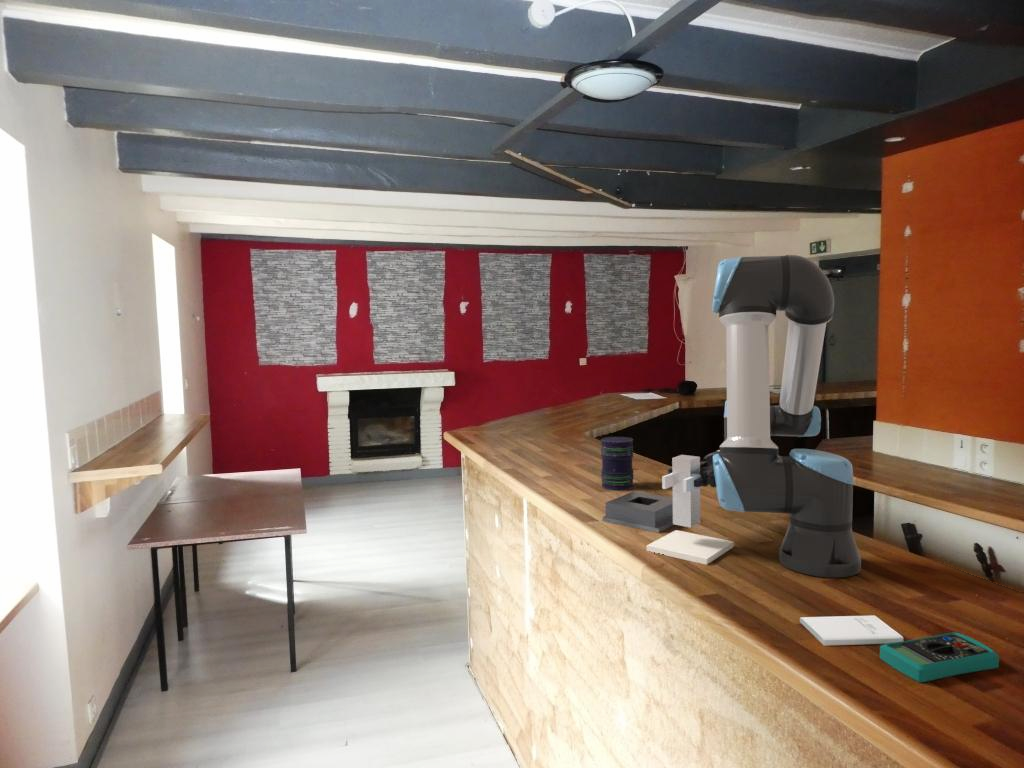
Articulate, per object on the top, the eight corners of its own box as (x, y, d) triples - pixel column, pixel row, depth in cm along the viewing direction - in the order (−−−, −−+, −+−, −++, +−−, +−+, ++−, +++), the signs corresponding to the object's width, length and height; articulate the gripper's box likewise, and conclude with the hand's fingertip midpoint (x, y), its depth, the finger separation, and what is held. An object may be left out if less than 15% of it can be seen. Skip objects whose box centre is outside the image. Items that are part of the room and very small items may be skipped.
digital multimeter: (1003, 670, 94) (1004, 650, 93) (919, 686, 90) (919, 666, 90) (956, 647, 101) (957, 628, 100) (876, 661, 97) (877, 641, 97)
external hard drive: (799, 625, 109) (873, 623, 109) (824, 649, 101) (903, 646, 101) (799, 616, 109) (873, 613, 109) (824, 639, 101) (903, 636, 101)
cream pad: (733, 546, 146) (733, 541, 146) (706, 564, 136) (706, 559, 136) (676, 534, 155) (676, 529, 155) (646, 550, 145) (646, 545, 145)
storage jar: (599, 490, 200) (599, 441, 198) (602, 482, 209) (602, 436, 208) (632, 491, 197) (632, 442, 196) (634, 483, 207) (634, 436, 205)
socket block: (695, 513, 172) (695, 495, 172) (658, 532, 157) (658, 512, 157) (641, 504, 183) (641, 486, 182) (602, 521, 168) (602, 501, 167)
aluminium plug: (700, 522, 147) (699, 456, 145) (690, 527, 144) (690, 460, 142) (682, 519, 150) (681, 454, 148) (672, 524, 147) (672, 457, 145)
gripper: (757, 486, 153) (711, 508, 136) (689, 476, 165) (639, 495, 148) (757, 454, 153) (711, 472, 136) (689, 446, 164) (639, 462, 147)
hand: (674, 484), depth 142 cm, fingers closed on aluminium plug, 4 cm apart
